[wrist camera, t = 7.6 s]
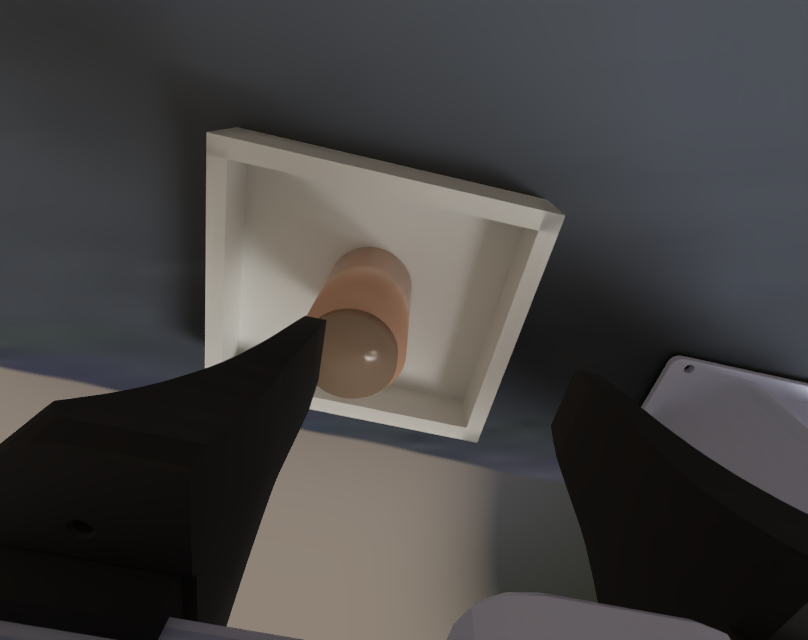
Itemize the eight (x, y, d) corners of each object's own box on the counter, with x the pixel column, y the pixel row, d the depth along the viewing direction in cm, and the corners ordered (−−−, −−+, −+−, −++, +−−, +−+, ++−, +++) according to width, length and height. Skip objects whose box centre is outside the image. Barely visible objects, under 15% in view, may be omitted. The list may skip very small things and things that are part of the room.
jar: (423, 262, 21) (421, 328, 15) (397, 332, 22) (386, 417, 16) (340, 235, 20) (305, 293, 14) (321, 309, 22) (282, 387, 16)
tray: (546, 199, 20) (565, 215, 17) (471, 406, 25) (477, 442, 23) (237, 126, 19) (206, 132, 16) (229, 356, 24) (204, 388, 22)
